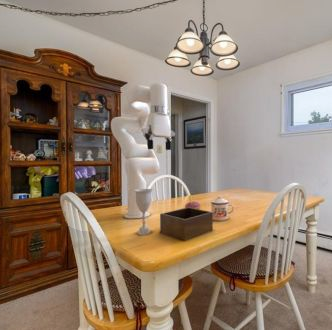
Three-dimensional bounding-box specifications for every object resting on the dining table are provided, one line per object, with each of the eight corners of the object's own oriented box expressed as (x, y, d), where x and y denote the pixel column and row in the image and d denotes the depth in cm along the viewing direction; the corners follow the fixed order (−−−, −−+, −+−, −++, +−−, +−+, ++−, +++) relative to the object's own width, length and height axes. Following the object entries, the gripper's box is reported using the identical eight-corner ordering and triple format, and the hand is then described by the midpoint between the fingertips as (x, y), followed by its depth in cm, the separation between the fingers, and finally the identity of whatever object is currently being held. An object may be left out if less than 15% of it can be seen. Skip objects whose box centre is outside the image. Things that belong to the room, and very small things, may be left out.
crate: (160, 232, 94) (160, 213, 94) (188, 223, 106) (188, 207, 106) (184, 240, 85) (184, 220, 84) (212, 230, 97) (212, 212, 97)
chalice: (146, 236, 89) (145, 191, 89) (131, 235, 91) (130, 191, 90) (156, 230, 97) (155, 189, 96) (142, 229, 98) (141, 188, 97)
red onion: (191, 217, 118) (191, 194, 117) (181, 214, 123) (181, 193, 123) (203, 214, 124) (203, 193, 124) (194, 211, 130) (194, 191, 129)
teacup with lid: (211, 221, 111) (211, 198, 110) (210, 216, 120) (210, 194, 119) (235, 220, 112) (235, 197, 112) (232, 215, 121) (232, 194, 121)
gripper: (169, 115, 111) (169, 150, 111) (136, 109, 97) (137, 149, 97) (179, 114, 107) (179, 149, 107) (147, 107, 92) (147, 148, 93)
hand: (159, 149), depth 102 cm, fingers open, 9 cm apart
